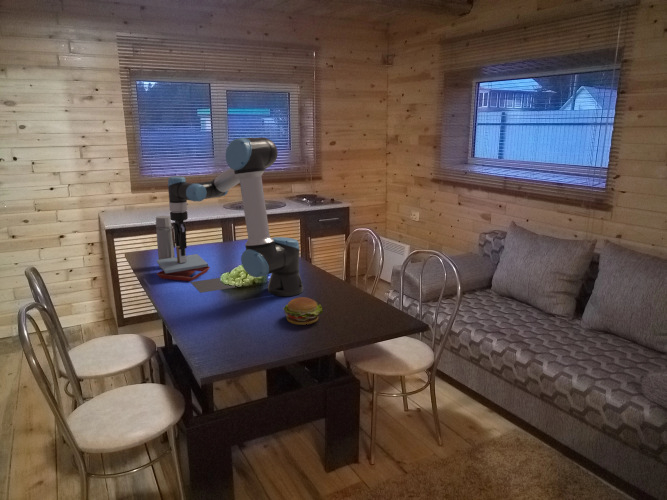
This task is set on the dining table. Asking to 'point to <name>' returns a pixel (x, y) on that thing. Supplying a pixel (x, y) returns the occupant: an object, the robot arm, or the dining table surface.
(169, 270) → the lid
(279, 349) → the dining table surface
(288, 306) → the food
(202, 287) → the mat
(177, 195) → the robot arm
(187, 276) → the plant saucer
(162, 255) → the water bottle
